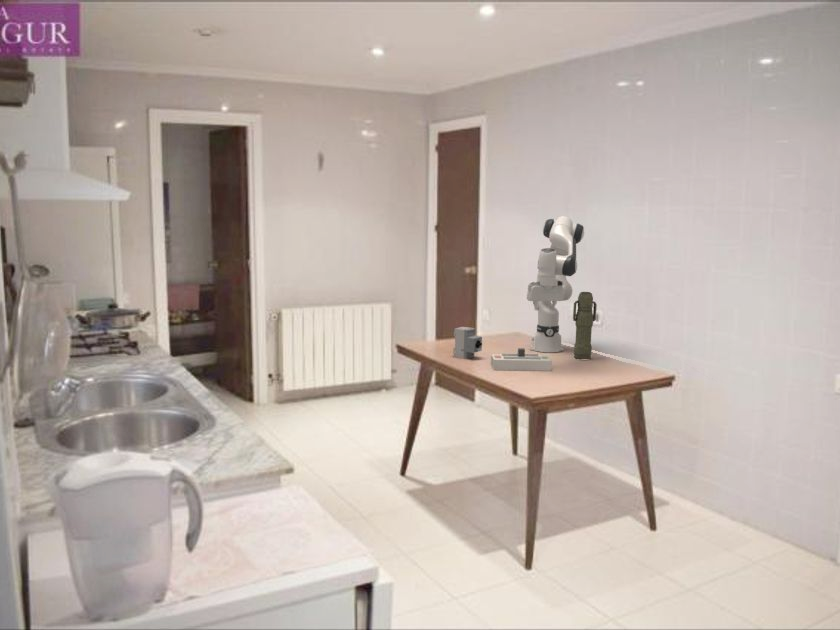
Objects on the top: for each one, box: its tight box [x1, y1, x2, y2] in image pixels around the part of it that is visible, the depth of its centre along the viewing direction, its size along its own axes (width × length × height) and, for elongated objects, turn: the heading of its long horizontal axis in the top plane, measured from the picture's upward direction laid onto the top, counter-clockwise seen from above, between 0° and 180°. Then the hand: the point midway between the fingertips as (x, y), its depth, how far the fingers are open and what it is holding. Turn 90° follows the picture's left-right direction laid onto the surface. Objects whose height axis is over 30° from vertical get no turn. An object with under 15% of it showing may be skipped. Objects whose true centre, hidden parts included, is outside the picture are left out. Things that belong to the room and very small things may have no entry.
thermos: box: [572, 291, 598, 360], centre depth 376 cm, size 9×12×35 cm
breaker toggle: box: [517, 347, 526, 357], centre depth 354 cm, size 3×3×4 cm
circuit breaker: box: [452, 326, 483, 360], centre depth 375 cm, size 8×14×15 cm, turn 53°
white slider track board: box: [490, 353, 553, 372], centre depth 355 cm, size 13×28×6 cm, turn 91°
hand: (544, 310), depth 353 cm, fingers open, 8 cm apart
